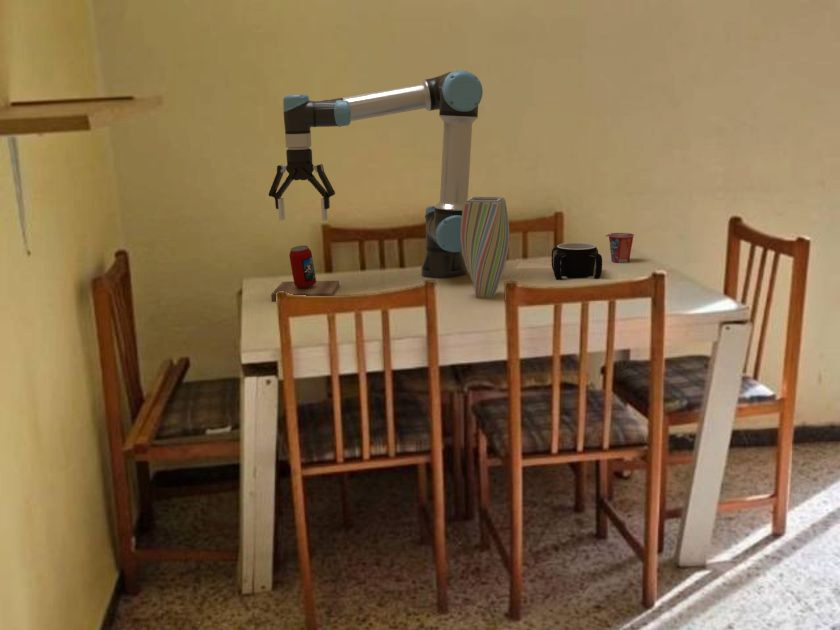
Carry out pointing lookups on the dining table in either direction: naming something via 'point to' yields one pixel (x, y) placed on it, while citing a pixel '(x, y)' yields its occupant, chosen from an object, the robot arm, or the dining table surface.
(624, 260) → the cup
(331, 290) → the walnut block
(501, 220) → the vase
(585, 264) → the black round container
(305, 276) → the beverage can
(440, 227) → the robot arm
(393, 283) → the dining table surface
